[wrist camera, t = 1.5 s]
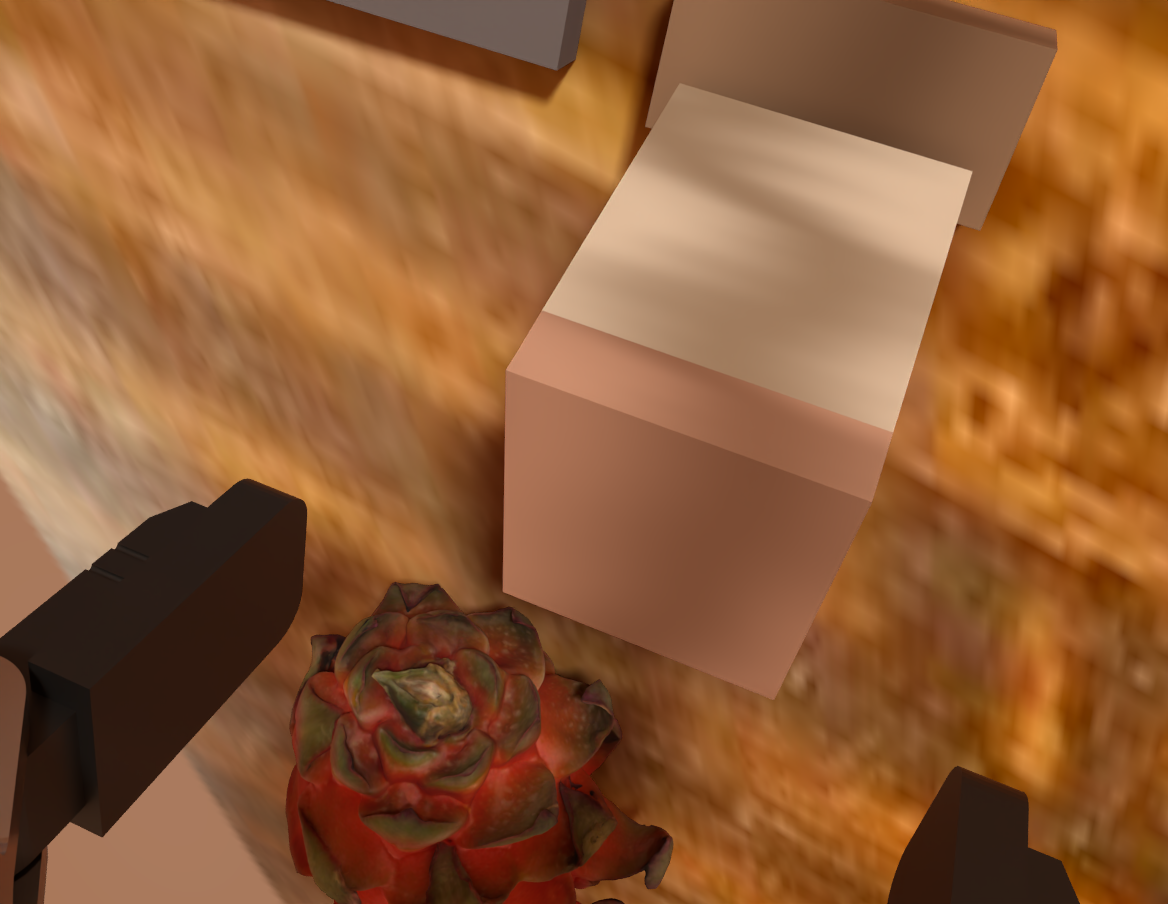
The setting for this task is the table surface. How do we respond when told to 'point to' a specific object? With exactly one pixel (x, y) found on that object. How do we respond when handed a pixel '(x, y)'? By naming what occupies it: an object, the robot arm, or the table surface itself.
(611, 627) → the pinkish tan block
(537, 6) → the charcoal mat
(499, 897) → the dragon fruit
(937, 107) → the block
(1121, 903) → the table surface
